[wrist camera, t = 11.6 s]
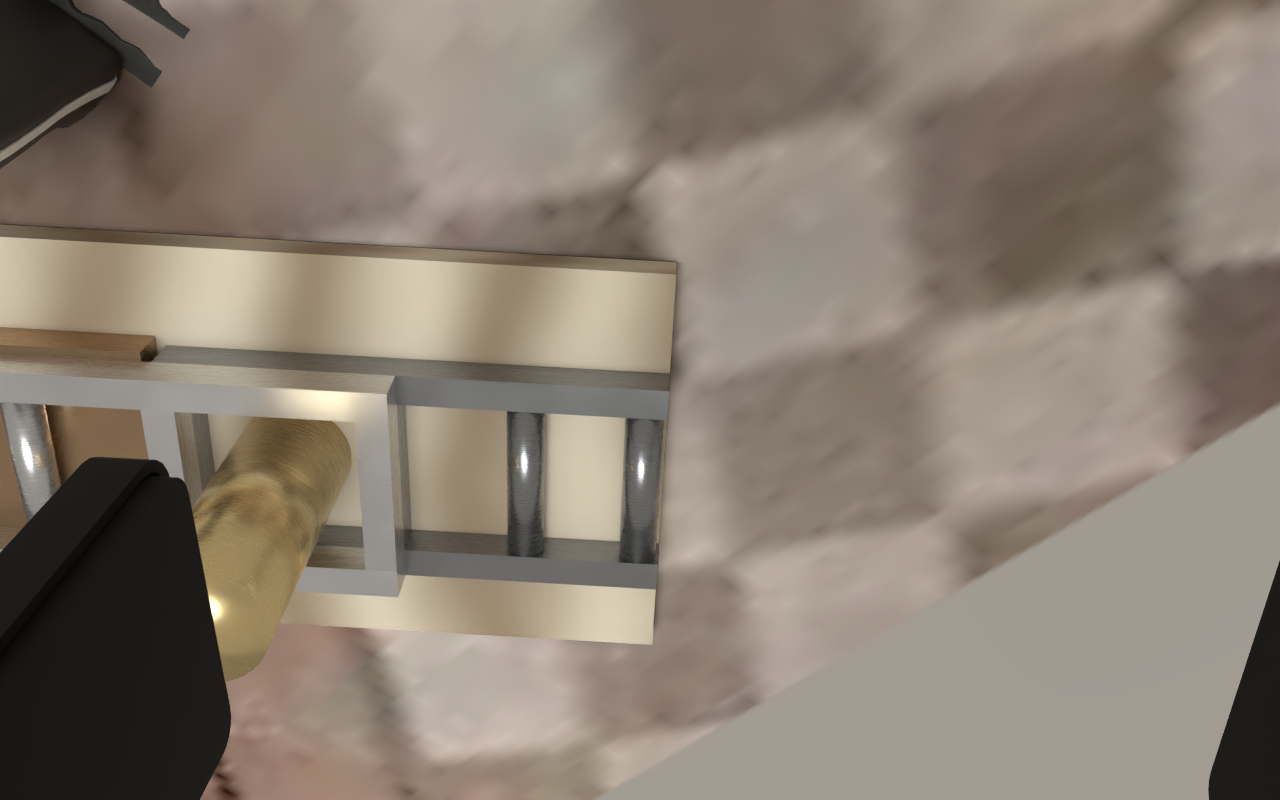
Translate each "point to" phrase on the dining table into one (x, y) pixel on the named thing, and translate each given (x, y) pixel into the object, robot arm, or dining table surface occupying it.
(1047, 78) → the dining table surface
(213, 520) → the brass pin
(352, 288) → the birch board
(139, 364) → the grey flat barred piece
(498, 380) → the grey frame
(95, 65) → the battery charger
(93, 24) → the hatchet
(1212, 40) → the dining table surface
